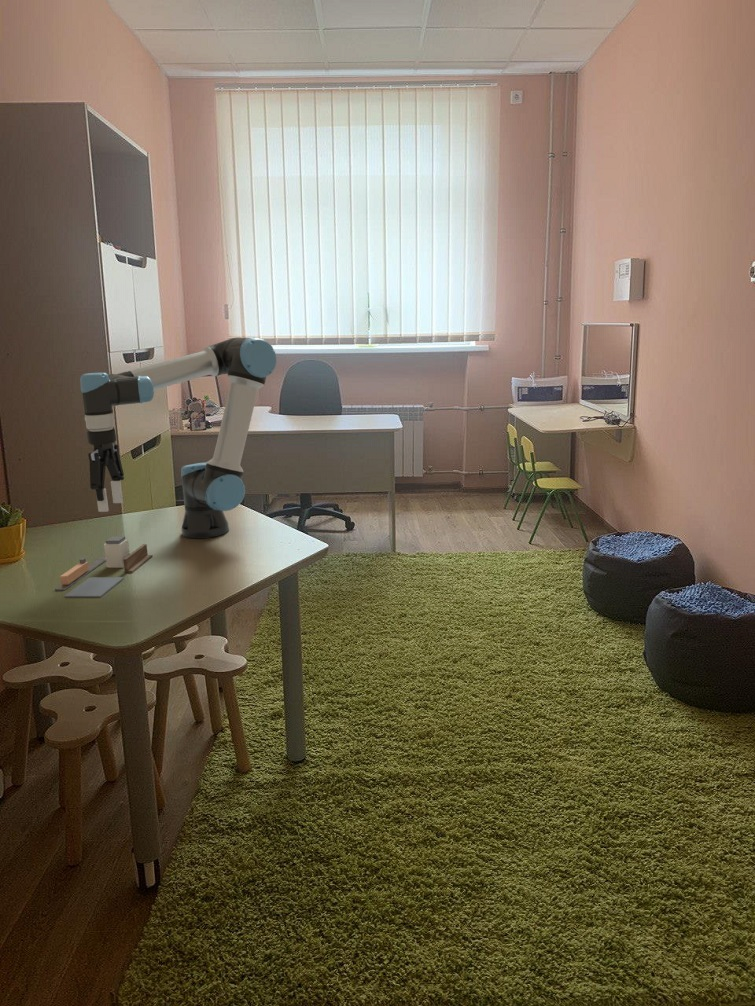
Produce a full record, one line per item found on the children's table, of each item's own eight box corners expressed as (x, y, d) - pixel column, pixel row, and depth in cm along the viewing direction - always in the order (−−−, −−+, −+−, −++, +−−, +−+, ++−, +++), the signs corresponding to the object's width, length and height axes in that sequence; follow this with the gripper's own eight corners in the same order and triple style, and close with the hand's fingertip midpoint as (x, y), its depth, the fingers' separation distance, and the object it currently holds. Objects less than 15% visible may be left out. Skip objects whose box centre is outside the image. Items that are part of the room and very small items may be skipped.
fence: (152, 556, 238) (150, 544, 237) (132, 572, 225) (131, 559, 224) (144, 556, 239) (143, 544, 238) (124, 572, 225) (123, 559, 224)
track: (111, 556, 240) (111, 555, 240) (64, 590, 213) (64, 588, 213) (102, 557, 240) (102, 555, 240) (55, 590, 214) (54, 588, 213)
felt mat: (123, 578, 220) (123, 577, 220) (100, 597, 207) (100, 595, 207) (89, 578, 221) (89, 577, 221) (64, 597, 208) (64, 595, 208)
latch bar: (89, 569, 227) (87, 557, 226) (68, 584, 216) (66, 571, 215) (82, 569, 228) (80, 557, 227) (61, 584, 216) (59, 571, 215)
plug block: (130, 561, 235) (127, 536, 233) (123, 567, 230) (119, 541, 228) (114, 562, 235) (111, 536, 233) (106, 567, 231) (103, 541, 229)
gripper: (105, 423, 233) (115, 497, 239) (69, 435, 213) (80, 517, 218) (129, 422, 232) (139, 497, 238) (95, 435, 212) (106, 517, 217)
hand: (111, 506), depth 228 cm, fingers open, 9 cm apart
